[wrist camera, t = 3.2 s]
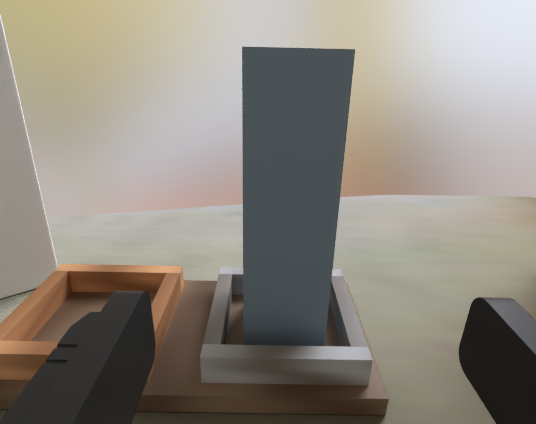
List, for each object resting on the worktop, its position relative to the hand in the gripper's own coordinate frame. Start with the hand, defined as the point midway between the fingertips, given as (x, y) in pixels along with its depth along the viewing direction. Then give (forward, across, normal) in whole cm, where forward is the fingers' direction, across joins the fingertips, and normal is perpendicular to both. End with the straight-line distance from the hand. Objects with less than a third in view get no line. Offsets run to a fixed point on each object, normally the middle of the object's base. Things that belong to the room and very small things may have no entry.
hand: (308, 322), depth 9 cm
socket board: (+9, +5, +8) cm, 13 cm away
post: (+9, 0, +8) cm, 11 cm away
